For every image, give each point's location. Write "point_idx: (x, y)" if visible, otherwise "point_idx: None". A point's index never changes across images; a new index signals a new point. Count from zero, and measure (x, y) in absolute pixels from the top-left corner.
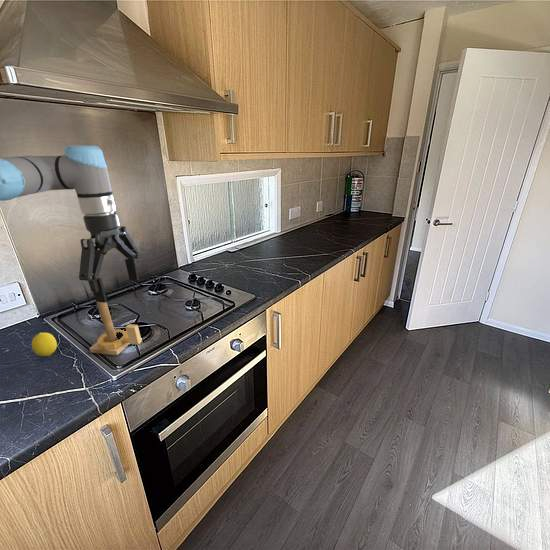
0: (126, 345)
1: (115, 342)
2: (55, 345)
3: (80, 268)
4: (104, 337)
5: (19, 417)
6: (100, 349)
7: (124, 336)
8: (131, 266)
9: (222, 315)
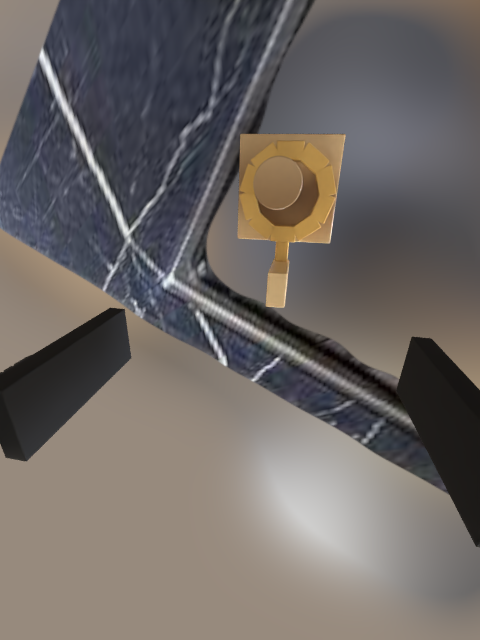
0: None
1: (257, 225)
2: None
3: None
4: None
5: (31, 150)
6: (240, 180)
7: (290, 234)
8: (450, 454)
9: None
